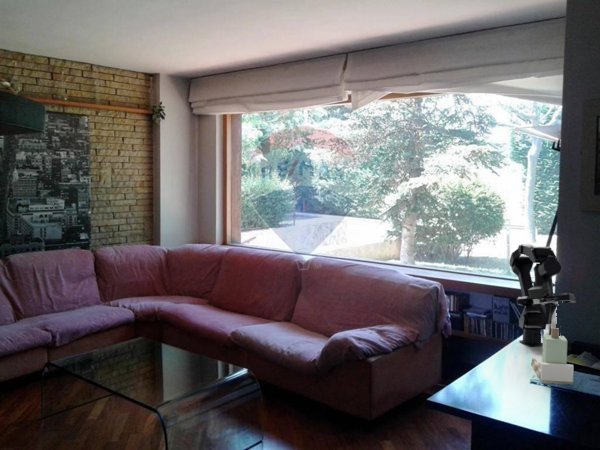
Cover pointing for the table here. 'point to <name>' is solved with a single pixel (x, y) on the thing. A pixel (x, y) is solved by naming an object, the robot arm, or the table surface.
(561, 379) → the wall
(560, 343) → the sliding block
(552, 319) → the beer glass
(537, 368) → the birch rail
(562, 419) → the table surface
